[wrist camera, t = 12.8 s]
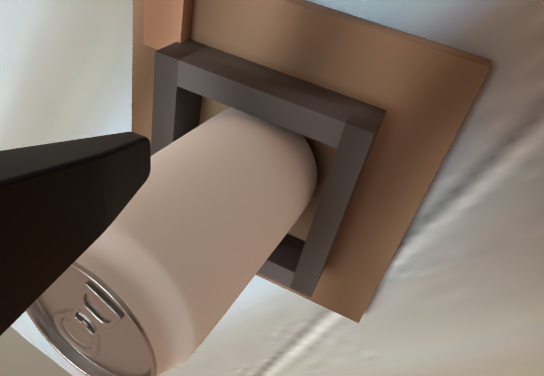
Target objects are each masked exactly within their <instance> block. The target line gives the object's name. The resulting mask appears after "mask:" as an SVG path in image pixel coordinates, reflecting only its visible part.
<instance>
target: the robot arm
mask: <svg viewBox="0 0 544 376" xmlns="http://www.w3.org/2000/svg"><path fill="white" fill-rule="evenodd" d="M150 170H151V143H150V140H149V139H148V138H147V137H145V136H143V135H140V134H138V133H135V132H124V133H118V134H111V135H104V136H97V137H91V138H84V139H77V140H70V141H64V142H57V143H50V144H43V145H37V146H30V147H23V148H16V149H10V150H3V151H0V336H1V335H2V334H3V333H4V332H5V331H6V330H7V329H8V328H9V327H10V326H11V325H12V324H13V323H14V322H15V321H16V320H17V319H18V318H19V317H20V316H21V315H22V314H23V313H24V312H25V311H26V310H27V309H28V308H29V307H30V306H31V305H32V304H33V303H34V302H35V301H36V300H37V299H38V298H39V297H40V296H41V295H42V294H43V293H44V292H45V291H46V290H47V289H48V288H49V287H50V286H51V285H52V284H53V283H54V282H55V281H56V280H57V279H58V278H59V277H60V276H61V275H62V274H63V273H64V272H65V271H66V270H67V269H68V268H69V267H70V266H71V265H72V264H73V263H74V262H75V261H76V260H77V259H78V258H79V257H80V256H81V255H82V254H83V253H84V252H85V251H86V250H87V249H88V248H89V247H90V246H91V245H92V244H93V243H94V242H95V241H96V240H97V239H98V238H99V237H100V236H101V235H102V234H103V233H104V232H105V231H106V230H107V228H108V227H109V226H110V225H111V224H112V223H113V221H114V220H115V219H116V218H117V217H118V215H119V214H120V213H121V212H122V210H123V209H124V208H125V207H126V205H127V204H128V203H129V202H130V200H131V199H132V198H133V197H134V195H135V194H136V193H137V192H138V190H139V189H140V188H141V187H142V186H143V184H144V183H145V182H146V180H147V179H148V177H149V175H150Z"/></svg>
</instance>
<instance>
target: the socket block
mask: <svg viewBox="0 0 544 376" xmlns="http://www.w3.org/2000/svg"><path fill="white" fill-rule="evenodd" d="M490 68H491V60H488V59H485V58H482V57H479V56H476V55H473V54H470V53H467V52H463V51H460V50H457V49H454V48H451V47H448V46H445V45H442V44H439V43H436V42H433V41H429V40H426V39H423V38H420V37H417V36H414V35H411V34H408V33H405V32H402V31H398V30H395V29H392V28H389V27H386V26H383V25H380V24H377V23H374V22H371V21H367V20H364V19H361V18H358V17H355V16H352V15H349V14H346V13H343V12H340V11H336V10H333V9H330V8H327V7H324V6H321V5H318V4H315V3H312V2H309V1H306V0H133V64H132V132H135V133H138V134H140V135H143V136H145V137H147V138H148V139H149V140H150V143H151V156H152V155H154V154H155V153H157V152H158V151H160V150H161V149H163V148H165V147H166V146H168V145H169V144H171V143H173V142H174V141H176V140H177V139H179V138H180V137H182V136H184V135H185V134H187V133H188V132H190V131H191V130H193V129H195V128H196V127H198V126H199V125H201V124H203V123H204V122H206V121H207V120H209V119H211V118H212V117H214V116H216V115H217V114H219V113H221V112H222V111H224V110H226V109H228V108H231V107H232V108H235V109H237V110H240V111H242V112H245V113H247V114H250V115H252V116H255V117H258V118H260V119H263V120H265V121H268V122H270V123H273V124H276V125H278V126H281V127H283V128H286V129H288V130H291V131H293V132H296V133H299V134H301V135H303V137H304V138H305V140H306V141H307V143H308V145H309V146H310V148H311V151H312V153H313V156H314V159H315V162H316V167H317V186H316V190H315V193H314V196H313V198H312V200H311V201H310V203H309V205H308V206H307V207H306V209H305V210H304V212H303V213H302V214H301V216H300V217H299V218H298V220H297V221H296V222H295V224H294V225H293V226H292V227H291V229H290V230H289V231H288V233H287V234H286V235H285V237H284V238H283V239H282V241H281V242H280V243H279V244H278V246H277V247H276V248H275V250H274V251H273V252H272V254H271V255H270V256H269V257H268V259H267V260H266V261H265V263H264V264H263V265H262V266H261V268H260V269H259V270H258V272H257V273H256V275H258V276H260V277H262V278H264V279H266V280H268V281H270V282H273V283H275V284H277V285H279V286H281V287H283V288H285V289H287V290H290V291H292V292H294V293H296V294H298V295H300V296H302V297H304V298H307V299H309V300H311V301H313V302H315V303H317V304H319V305H321V306H324V307H326V308H328V309H330V310H332V311H334V312H336V313H338V314H341V315H343V316H345V317H347V318H349V319H351V320H353V321H355V322H358V323H359V321H360V319H361V317H362V315H363V313H364V312H365V310H366V308H367V306H368V304H369V302H370V300H371V298H372V296H373V294H374V292H375V290H376V288H377V286H378V284H379V282H380V281H381V279H382V277H383V275H384V273H385V271H386V269H387V267H388V265H389V263H390V261H391V259H392V257H393V255H394V253H395V252H396V250H397V248H398V246H399V244H400V242H401V240H402V238H403V236H404V234H405V232H406V230H407V228H408V226H409V224H410V223H411V221H412V219H413V217H414V215H415V213H416V211H417V209H418V207H419V205H420V203H421V201H422V199H423V197H424V195H425V194H426V192H427V190H428V188H429V186H430V184H431V182H432V180H433V178H434V176H435V174H436V172H437V170H438V168H439V166H440V165H441V163H442V161H443V159H444V157H445V155H446V153H447V151H448V149H449V147H450V145H451V143H452V141H453V139H454V137H455V135H456V134H457V132H458V130H459V128H460V126H461V124H462V122H463V120H464V118H465V116H466V114H467V112H468V110H469V108H470V106H471V105H472V103H473V101H474V99H475V97H476V95H477V93H478V91H479V89H480V87H481V85H482V83H483V81H484V79H485V77H486V76H487V74H488V72H489V70H490Z"/></svg>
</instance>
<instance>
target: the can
mask: <svg viewBox="0 0 544 376" xmlns="http://www.w3.org/2000/svg"><path fill="white" fill-rule="evenodd" d="M316 186H317V167H316V162H315V159H314V156H313V153H312V151H311V148H310V146H309V145H308V143H307V141H306V140H305V138H304V137H303V135H301V134H299V133H296V132H293V131H291V130H288V129H286V128H283V127H281V126H278V125H276V124H273V123H270V122H268V121H265V120H263V119H260V118H258V117H255V116H252V115H250V114H247V113H245V112H242V111H240V110H237V109H235V108H232V107H231V108H228V109H226V110H224V111H222V112H221V113H219V114H217V115H216V116H214V117H212V118H211V119H209V120H207V121H206V122H204V123H203V124H201V125H199V126H198V127H196V128H195V129H193V130H191V131H190V132H188V133H187V134H185V135H184V136H182V137H180V138H179V139H177V140H176V141H174V142H173V143H171V144H169V145H168V146H166V147H165V148H163V149H161V150H160V151H158V152H157V153H155V154H154V155H152V156H151V170H150V175H149V177H148V179H147V180H146V182H145V183H144V184H143V186H142V187H141V188H140V189H139V190H138V192H137V193H136V194H135V195H134V197H133V198H132V199H131V200H130V202H129V203H128V204H127V205H126V207H125V208H124V209H123V210H122V212H121V213H120V214H119V215H118V217H117V218H116V219H115V220H114V221H113V223H112V224H111V225H110V226H109V227H108V228H107V230H106V231H105V232H104V233H103V234H102V235H101V236H100V237H99V238H98V239H97V240H96V241H95V242H94V243H93V244H92V245H91V246H90V247H89V248H88V249H87V250H86V251H85V252H84V253H83V254H82V255H81V256H80V257H79V258H78V259H77V260H76V261H75V262H74V263H73V264H72V265H71V266H70V267H69V268H68V269H67V270H66V271H65V272H64V273H63V274H62V275H61V276H60V277H59V278H58V279H57V280H56V281H55V282H54V283H53V284H52V285H51V286H50V287H49V288H48V289H47V290H46V291H45V292H44V293H43V294H42V295H41V296H40V297H39V298H38V299H37V300H36V301H35V302H34V303H33V304H32V305H31V306H30V307H29V308H28V309H27V310H26V311H27V313H28V315H29V316H30V318H31V320H32V321H33V323H34V324H35V325H36V327H37V328H38V330H39V331H40V332H41V333H42V335H43V336H44V337H45V338H46V340H47V341H48V342H49V343H50V344H51V345H52V346H53V347H54V348H55V349H56V350H57V351H58V352H59V353H60V354H61V355H62V356H63V357H64V358H65V359H66V360H67V361H68V362H69V363H71V364H72V365H73V366H74V367H75V368H77V369H78V370H79V371H81V372H82V373H83V374H85V375H86V376H157V375H159V374H161V373H163V372H165V371H168V370H170V369H172V368H174V367H176V366H178V365H180V364H181V363H183V362H184V361H186V360H187V359H188V358H189V357H190V356H191V355H192V354H193V353H194V352H195V350H196V349H197V348H198V347H199V346H200V344H201V343H202V342H203V341H204V340H205V338H206V337H207V336H208V335H209V333H210V332H211V331H212V329H213V328H214V327H215V326H216V324H217V323H218V322H219V321H220V319H221V318H222V317H223V315H224V314H225V313H226V312H227V310H228V309H229V308H230V306H231V305H232V304H233V303H234V301H235V300H236V299H237V297H238V296H239V295H240V294H241V292H242V291H243V290H244V288H245V287H246V286H247V285H248V283H249V282H250V281H251V279H252V278H253V277H254V276H255V274H256V273H257V272H258V270H259V269H260V268H261V266H262V265H263V264H264V263H265V261H266V260H267V259H268V257H269V256H270V255H271V254H272V252H273V251H274V250H275V248H276V247H277V246H278V244H279V243H280V242H281V241H282V239H283V238H284V237H285V235H286V234H287V233H288V231H289V230H290V229H291V227H292V226H293V225H294V224H295V222H296V221H297V220H298V218H299V217H300V216H301V214H302V213H303V212H304V210H305V209H306V207H307V206H308V205H309V203H310V201H311V200H312V198H313V196H314V193H315V190H316Z"/></svg>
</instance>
